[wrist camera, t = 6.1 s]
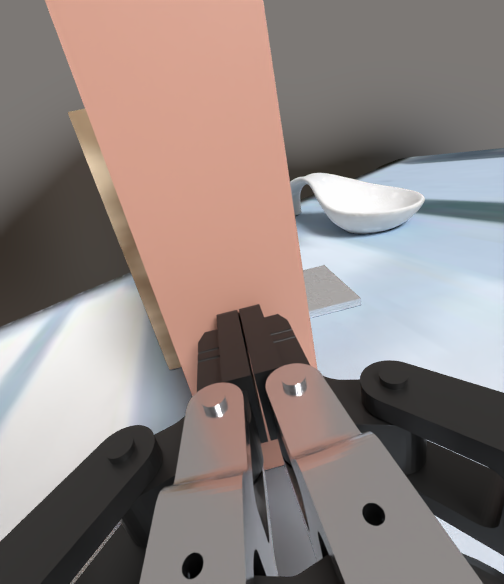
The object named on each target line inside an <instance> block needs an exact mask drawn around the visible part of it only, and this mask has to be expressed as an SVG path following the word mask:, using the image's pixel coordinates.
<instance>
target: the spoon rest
mask: <svg viewBox="0 0 504 584" xmlns="http://www.w3.org/2000/svg"><path fill="white" fill-rule="evenodd" d="M305 184H308V185H309V186H310V187H311V188H312V189H313V192H314V194H315V196H316V198H317V200H318V202H319V204H320V205H321V207H322V209H323V210H324V212H325V213H326V215H327V216H328V217H329V218H330V220H331V221H332V222H333V223H335V224H336V225H337V226H339V227H340V228H342V229H344V230H346V231H347V232H350V233H356V234H368V233H376V232H381V231H385V230H388V229H391V228H394V227H396V226H399V225H401V224H402V223H404V222H406V221H407V220H408V219H410V218H411V217H412V216H413V215H414V214H415V213H416V212H417V211H418V210H419V208H420V207H421V206H422V204H423V203H424V200H425V198H424V196H423V195H422V194H420V193H418V192H415V191H412V190H408V189H403V188H396V187H390V186H384V185H378V184H372V183H367V182H363V181H358V180H354V179H350V178H346V177H341V176H337V175H332V174H326V173H314V174H310V175H307V176H305V177H298V178H296V179H294V180H292V181H291V182H290V187H291V194H292V201H293V207H294V214H295V216H296V215H299V214H300V213H301V204H300V191H301V189H302V187H303V186H304V185H305Z"/></svg>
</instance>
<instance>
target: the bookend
mask: <svg viewBox="0 0 504 584" xmlns="http://www.w3.org/2000/svg"><path fill="white" fill-rule="evenodd" d="M303 275H304V282H305V289H306V296H307V303H308V310H309V316H310V318H313V317H316V316H320V315H324V314H328V313H332V312H336V311H340V310H344V309H348V308H351V307H355V306H359V305H361V298H360V297H359V296H358V295H357V294H356V293H355V292H353V291H352V290H351V289H350V288H349V287H348V286H347V285H346V284H345V283H343V282H342V281H341V280H340V279H339V278H338V277H337V276H336V275H335V274H333V273H332V272H331V271H330V270H329V269H328V268H327V267H326V266H325V265H323V266H319V267H315V268H311V269H307V270H303Z"/></svg>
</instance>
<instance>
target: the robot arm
mask: <svg viewBox="0 0 504 584" xmlns="http://www.w3.org/2000/svg"><path fill="white" fill-rule="evenodd" d="M239 312H240V317H241V321H242V325H243V330H244V334H245V338H244V334H243V331H242V327H241V323H240V319H239V315H238V311H237V310H233V311H229V312H225V313H221V314H217V315H216V317H217V329H216V330H212V331H208V332H204V334H203V336H202V337H201V339H200V340H199V342H198V364H197V393H196V394H195V395H194V396H193V397H192V398H191V399H190V401H189V403H188V405H187V408H186V414H185V417H184V418H182V419H181V420H180V421H178V422H177V423H175V424H174V425H172V426H170V427H168V428H166V429H165V430H163V431H161V432H159V433H157V434H155V435H154V434H153V432H152V430H151V429H150V428H148V427H146V426H142V425H135V426H129V427H126V428H123V429H121V430H119V431H117V432H115V433H114V434H112V435H111V436H109V437H108V438H107V439H106V440H105V441H103V442H102V443H101V444H100V445H99V446H98V447H97V448H96V449H95V450H94V451H93V452H92V453H91V454H90V455H89V456H88V457H87V458H86V459H85V460H84V461H83V462H82V463H81V464H80V465H79V466H78V467H77V468H76V469H75V470H74V471H73V472H71V473H70V474H69V475H68V476H67V477H66V478H65V479H64V480H63V481H62V482H61V483H60V484H59V485H58V486H57V487H56V488H55V489H54V490H53V491H52V492H51V493H50V494H49V495H48V496H47V497H46V498H45V499H44V500H43V501H42V502H41V503H40V504H39V505H37V506H36V507H35V508H34V509H33V510H32V511H31V512H30V513H29V514H28V515H27V516H26V517H25V518H24V519H23V520H22V521H21V522H20V523H19V524H18V525H17V526H16V527H15V528H14V529H13V530H12V531H11V532H10V533H9V534H8V535H7V536H6V537H5V538H4V539H2V540H1V541H0V584H70V582H71V581H72V580H73V578H74V577H75V576H76V575H77V573H78V572H79V571H80V570H81V568H82V567H83V566H84V565H85V563H86V562H87V561H88V560H89V558H90V557H91V556H92V555H93V553H94V552H95V551H96V550H97V548H98V547H99V546H100V545H101V543H102V542H103V541H104V540H105V538H106V537H107V536H108V535H109V533H110V532H111V531H112V530H113V528H114V527H115V526H116V525H117V523H118V522H119V521H120V522H121V525H120V527H119V528H118V529H117V530H116V532H115V533H114V534H113V535H112V537H111V538H110V539H109V540H108V542H107V543H106V544H105V546H104V547H103V548H102V549H101V551H100V552H99V553H98V554H97V556H96V557H95V558H94V559H93V561H92V562H91V563H90V565H89V566H88V567H87V568H86V570H85V571H84V572H83V573H82V575H81V576H80V577H79V578H78V580H77V581H76V582H75V584H504V574H502V573H501V572H499V571H498V570H496V569H494V568H492V567H490V566H488V565H486V564H484V563H483V562H481V561H479V560H477V559H474V558H472V557H470V556H467V555H465V554H462V553H461V552H460V551H459V549H458V548H457V546H456V545H455V544H454V542H453V541H452V540H451V538H450V537H449V535H448V534H447V533H446V531H445V530H444V528H443V527H442V526H441V524H440V523H439V521H438V520H437V519H436V517H435V516H437V517H438V518H440V519H442V520H444V521H445V522H447V523H449V524H450V525H452V526H454V527H455V528H457V529H459V530H461V531H462V532H464V533H466V534H467V535H469V536H471V537H472V538H474V539H476V540H478V541H479V542H481V543H483V544H484V545H486V546H488V547H490V548H491V549H493V550H495V551H496V552H498V553H500V554H501V555H503V556H504V393H502V392H499V391H496V390H493V389H489V388H486V387H483V386H479V385H476V384H473V383H470V382H466V381H463V380H460V379H457V378H453V377H450V376H447V375H443V374H440V373H437V372H434V371H430V370H427V369H424V368H421V367H417V366H414V365H411V364H407V363H404V362H400V361H380V362H376V363H373V364H371V365H369V366H368V367H366V368H365V369H364V370H363V372H362V373H361V376H360V380H337V379H331V378H327V377H324V376H322V374H321V373H320V372H319V371H318V370H317V369H316V368H314V367H312V366H311V365H310V364H309V362H308V360H307V358H306V356H305V354H304V352H303V350H302V348H301V346H300V344H299V342H298V340H297V338H296V336H295V334H294V332H293V330H292V328H291V326H290V324H289V322H288V320H287V319H285V318H284V317H282V316H280V315H279V314H275V315H271V316H267V317H264V315H263V313H262V310H261V307H260V305H259V304H257V305H253V306H249V307H245V308H241V309H239ZM245 339H246V342H245ZM246 343H247V346H246ZM247 347H248V350H247ZM248 352H249V354H248ZM249 356H250V358H249ZM250 361H251V362H250ZM251 365H252V367H251ZM252 369H253V371H252ZM253 374H254V376H253ZM254 378H255V380H254ZM255 382H256V384H255ZM256 385H257V389H258V393H259V397H260V401H261V405H262V409H263V413H264V416H265V420H266V424H267V428H268V432H269V436H270V440H271V441H272V440H276V439H278V442H279V446H280V450H281V453H282V457H283V461H284V466H285V469H286V472H287V475H288V478H289V481H290V483H291V486H292V489H293V492H294V495H295V498H296V501H297V504H298V506H299V509H300V512H301V515H302V518H303V521H304V524H305V527H306V529H307V532H308V535H309V538H310V541H311V544H312V547H313V551H314V554H315V557H316V561H317V562H316V563H315V564H313V565H312V566H310V567H309V568H308V569H306V570H305V571H303V572H302V573H300V574H298V575H296V576H293V577H279V576H278V571H277V567H276V561H275V555H274V549H273V540H272V531H271V522H270V513H269V504H268V495H267V486H266V477H265V470H264V466H263V463H264V458H263V452H262V447H261V443H265V442H268V438H267V433H266V429H265V424H264V420H263V415H262V411H261V407H260V402H259V398H258V393H257V389H256ZM427 440H429V441H427ZM430 441H431V442H430ZM432 442H433V443H432ZM434 443H436V444H438V445H436V444H434ZM439 445H440V446H439ZM441 446H442V447H441ZM443 447H445V448H447V449H445V448H443ZM448 449H449V450H448ZM450 450H451V451H450ZM452 451H454V452H456V453H458V454H456V453H454V452H452ZM459 454H460V455H459ZM461 455H463V456H465V457H467V458H465V457H463V456H461ZM468 458H469V459H468ZM470 459H472V460H474V461H476V462H474V461H472V460H470ZM477 462H478V463H477ZM479 463H481V464H483V465H485V466H483V465H481V464H479ZM486 466H487V467H486ZM488 467H489V468H488ZM434 515H435V516H434Z"/></svg>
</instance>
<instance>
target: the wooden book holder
mask: <svg viewBox="0 0 504 584" xmlns="http://www.w3.org/2000/svg"><path fill="white" fill-rule="evenodd" d="M68 114H69V117H70V119H71V122H72V124H73V127H74V129H75V132H76V134H77V137H78V139H79V142H80V144H81V147H82V150H83V152H84V155H85V157H86V159H87V162H88V165H89V167H90V170H91V172H92V175H93V177H94V180H95V182H96V185H97V188H98V190H99V193H100V195H101V198H102V200H103V203H104V205H105V208H106V210H107V213H108V215H109V218H110V220H111V223H112V225H113V228H114V231H115V233H116V235H117V238H118V241H119V243H120V246H121V248H122V251H123V253H124V256H125V259H126V261H127V263H128V266H129V269H130V271H131V274H132V276H133V279H134V281H135V284H136V286H137V289H138V292H139V294H140V297H141V299H142V302H143V304H144V307H145V309H146V312H147V314H148V317H149V319H150V322H151V324H152V327H153V330H154V332H155V335H156V337H157V340H158V342H159V345H160V347H161V350H162V352H163V355H164V357H165V360H166V362H167V365H168V368H169V370H172V369H176V368H179V367H181V364H180V361H179V359H178V356H177V353H176V351H175V348H174V345H173V343H172V340H171V337H170V334H169V332H168V329H167V326H166V324H165V321H164V318H163V316H162V313H161V310H160V308H159V305H158V302H157V300H156V297H155V294H154V292H153V289H152V286H151V283H150V281H149V278H148V275H147V273H146V270H145V267H144V265H143V262H142V259H141V257H140V254H139V251H138V249H137V246H136V243H135V241H134V238H133V235H132V232H131V230H130V227H129V224H128V222H127V219H126V216H125V214H124V211H123V208H122V206H121V203H120V200H119V198H118V195H117V192H116V190H115V187H114V184H113V181H112V179H111V176H110V173H109V171H108V168H107V165H106V163H105V160H104V157H103V155H102V152H101V149H100V147H99V144H98V141H97V139H96V136H95V133H94V130H93V128H92V125H91V122H90V120H89V117H88V114H87V112H86V109H81V110H76V111H71V112H68Z"/></svg>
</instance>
